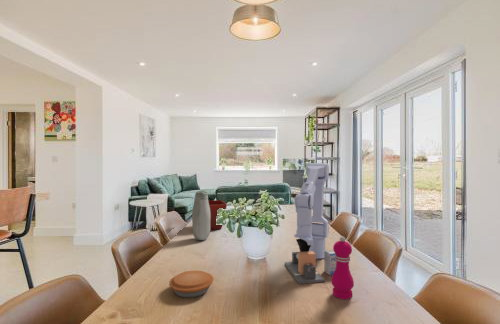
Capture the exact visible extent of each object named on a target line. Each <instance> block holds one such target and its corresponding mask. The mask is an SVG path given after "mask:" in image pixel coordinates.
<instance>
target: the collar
mask: <svg viewBox="0 0 500 324" xmlns="http://www.w3.org/2000/svg"><path fill="white" fill-rule="evenodd" d="M297 252H298V271H299V272H300V274H304V265H305V263H309V265H314V266H315V267H317V264H316V263H317V262H316V261H317V259H316V254H315V253H314V252H313V251H308V252H300V251H297Z"/></svg>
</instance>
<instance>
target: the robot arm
mask: <svg viewBox="0 0 500 324" xmlns="http://www.w3.org/2000/svg"><path fill="white" fill-rule="evenodd" d="M329 166H330V165H329V164H328V162H325V163H324V162H320V163H319V162H307V163H306V164H305V175H306V176H307V178H306V181H305V182H303V183H302V185H301V188H300V191H299V192H298V194H296V195H295V198H294V206H295V213H296V233H295V234H294V235H293V236H294V238H295V241H296V243H297V245H298V249H299V252H308V251H313V252H314V253H315V254H316V260H318V259H319V260H321V259H324V251H326V239H327V238H328V237H329V234H330V227H329V220H328V219H326V218H325V217H324V193H325V192H324V189H325V184H326V183H325V182H328V181H329V178H330V176H329V173H330V169H329V168H330V167H329Z"/></svg>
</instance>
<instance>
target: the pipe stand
mask: <svg viewBox="0 0 500 324" xmlns="http://www.w3.org/2000/svg"><path fill="white" fill-rule="evenodd" d="M298 252H299V251H293V252H292V251H291V259H292V261H284V265H285V267H286V268H287V269H288V271H289V272H290V273H291V275H292V276H293V278H294V279H295V280H296V282H297V283H298V284H299V285H301V284H311V283H313V284H314V283H324V282H325V278H324V277H323V276H322V275H321V274H320V273H319V271H317V268H316V267H317V266H316V267H315V266H314V265H309V263H305V265H304V274H300V272H299V271H298Z"/></svg>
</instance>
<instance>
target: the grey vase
mask: <svg viewBox="0 0 500 324" xmlns="http://www.w3.org/2000/svg"><path fill="white" fill-rule="evenodd" d="M208 201H209V195H208V192H207V191H206V190H198V191H196V192H195V194H194V200H193V207H192V211H191V212H192V213H191V220H192V221H191V222H192V228H191V229H192V234H193V237H194V238H195V240H197V241H205V240H207V239H208V238H209V236H210V234H211V230H210V218H211V214H210V207H209V202H208Z"/></svg>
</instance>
